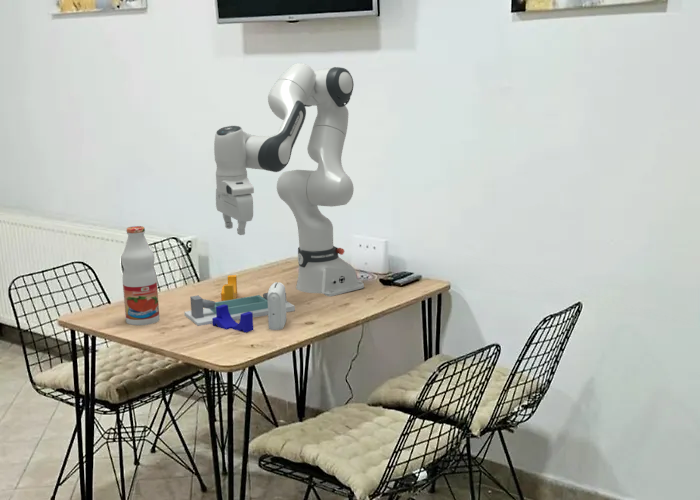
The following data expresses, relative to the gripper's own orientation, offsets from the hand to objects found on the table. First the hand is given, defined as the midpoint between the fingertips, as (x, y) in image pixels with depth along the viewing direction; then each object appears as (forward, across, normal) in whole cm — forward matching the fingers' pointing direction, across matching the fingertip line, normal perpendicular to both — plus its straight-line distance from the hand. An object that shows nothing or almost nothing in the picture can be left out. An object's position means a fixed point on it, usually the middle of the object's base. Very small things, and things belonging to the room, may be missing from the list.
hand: (235, 231), depth 243 cm
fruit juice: (+24, -6, -28) cm, 37 cm away
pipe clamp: (+25, -13, +2) cm, 28 cm away
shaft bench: (+25, +2, -1) cm, 25 cm away
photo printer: (+25, +18, +4) cm, 31 cm away
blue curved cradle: (+25, +14, -8) cm, 30 cm away
